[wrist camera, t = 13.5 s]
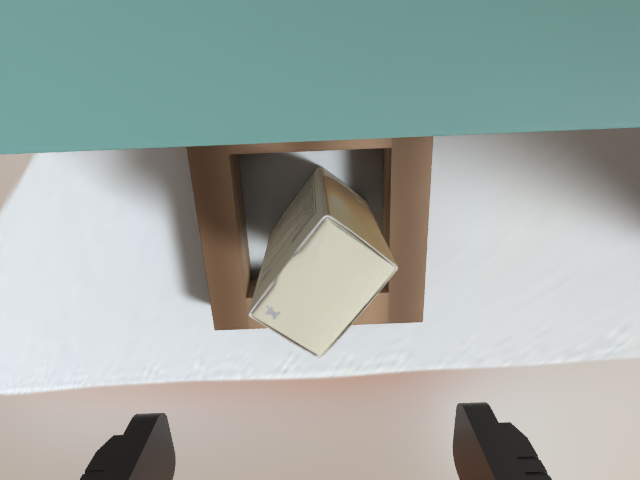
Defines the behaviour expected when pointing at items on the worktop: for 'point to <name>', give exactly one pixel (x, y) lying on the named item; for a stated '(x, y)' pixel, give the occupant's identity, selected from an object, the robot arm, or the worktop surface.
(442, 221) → the worktop surface
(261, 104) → the board
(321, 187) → the skincare box
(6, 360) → the worktop surface
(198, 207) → the socket block
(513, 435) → the robot arm
